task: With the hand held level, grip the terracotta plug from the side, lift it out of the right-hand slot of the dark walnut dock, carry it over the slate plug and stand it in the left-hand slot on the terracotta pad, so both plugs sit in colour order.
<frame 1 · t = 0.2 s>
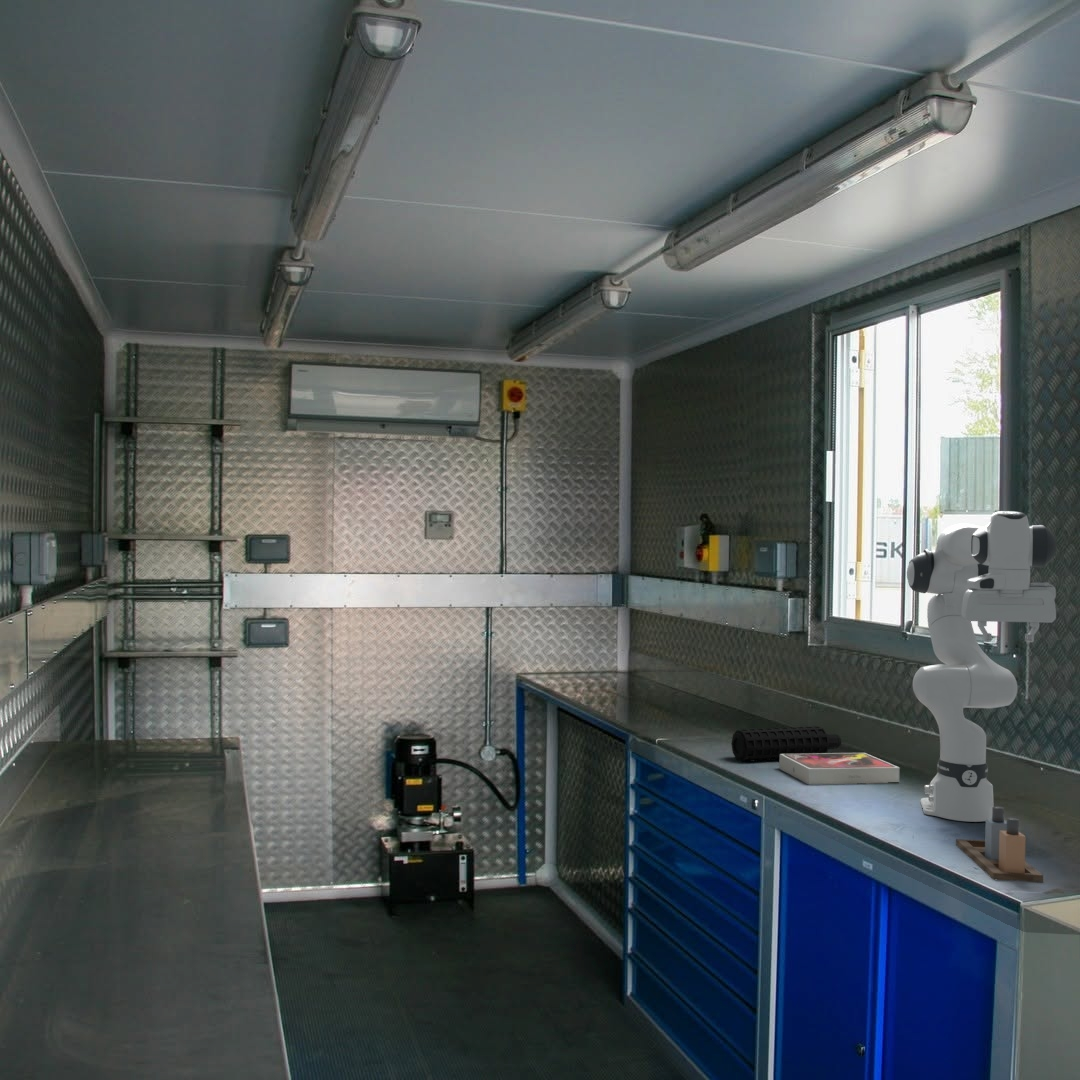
hand: (1008, 641, 252), 48 cm above the worktop, tool pointing down, fingers open, 8 cm apart
product packaging: (837, 777, 328), on the worktop
roller: (788, 759, 353), on the worktop
terracotta plug: (1011, 875, 232), resting in plug dock
slate plug: (997, 834, 241), in the plug dock
plug dock: (997, 862, 241), on the worktop
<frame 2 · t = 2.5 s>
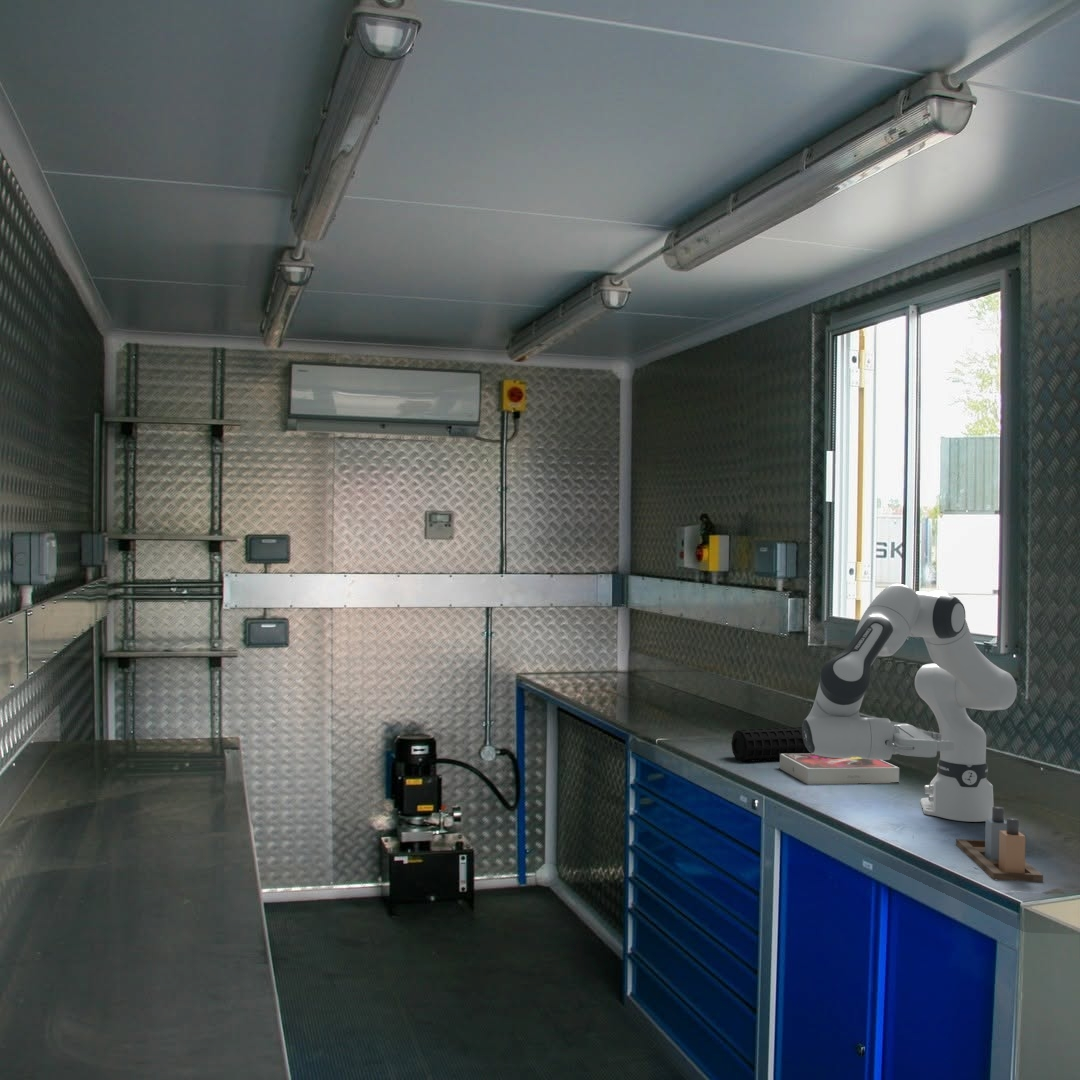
hand: (946, 741, 233), 28 cm above the worktop, tool horizontal, fingers open, 8 cm apart
nothing on the worktop moved.
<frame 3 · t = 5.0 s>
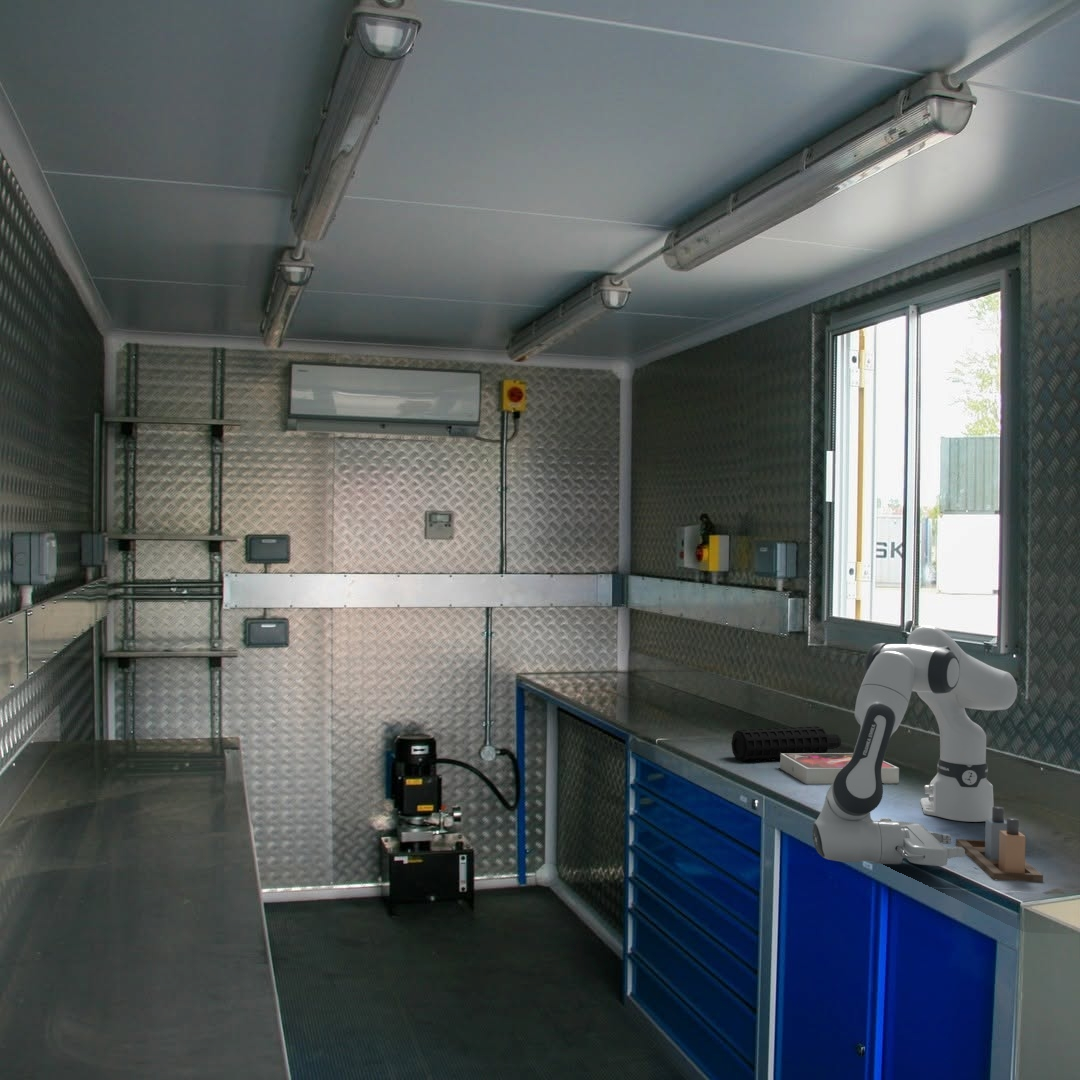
hand: (957, 845, 233), 6 cm above the worktop, tool horizontal, fingers open, 8 cm apart
nothing on the worktop moved.
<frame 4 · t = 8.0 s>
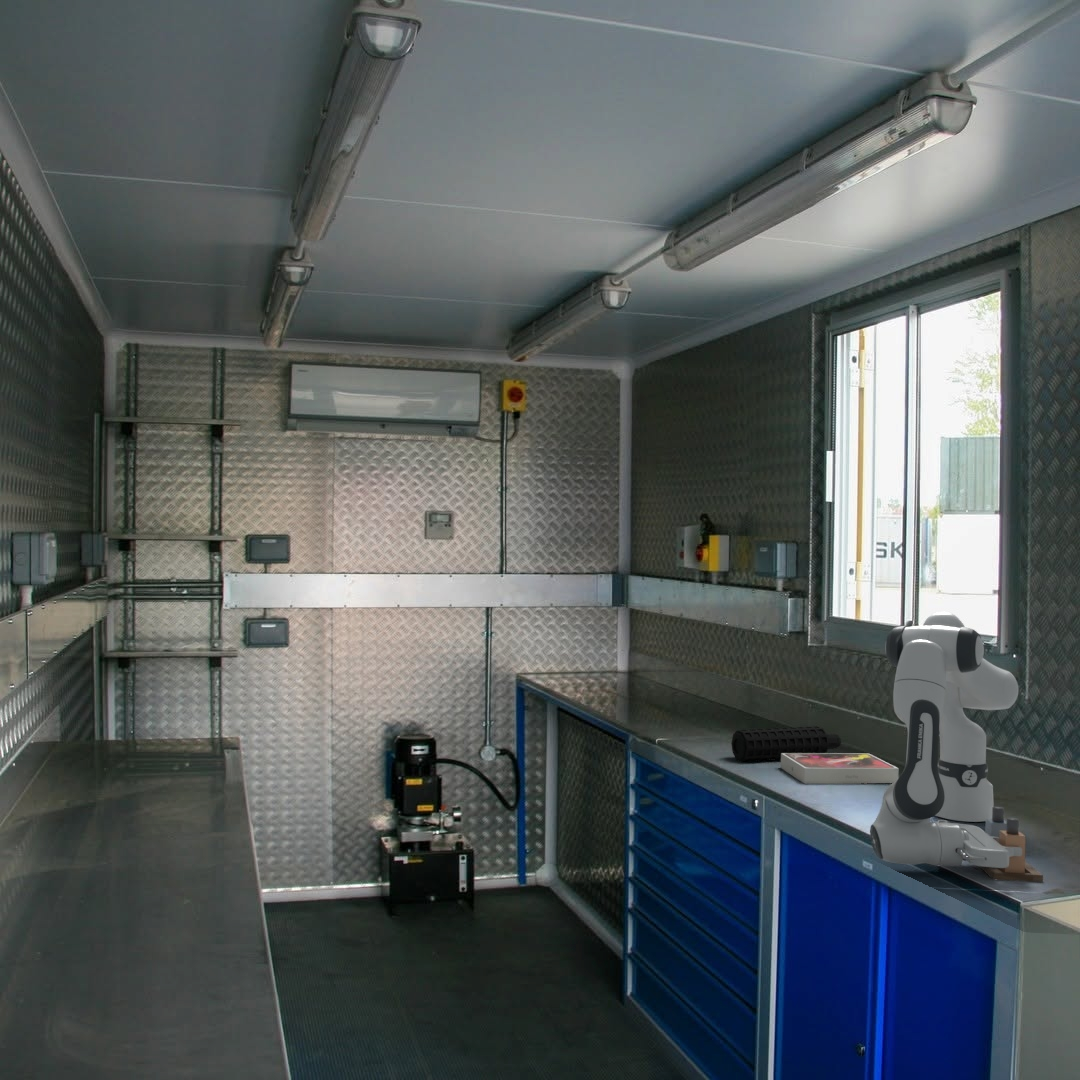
hand: (1016, 847, 232), 6 cm above the worktop, tool horizontal, fingers closed on terracotta plug, 4 cm apart
terracotta plug: (1011, 875, 232), resting in plug dock, touching gripper
everything else where it was.
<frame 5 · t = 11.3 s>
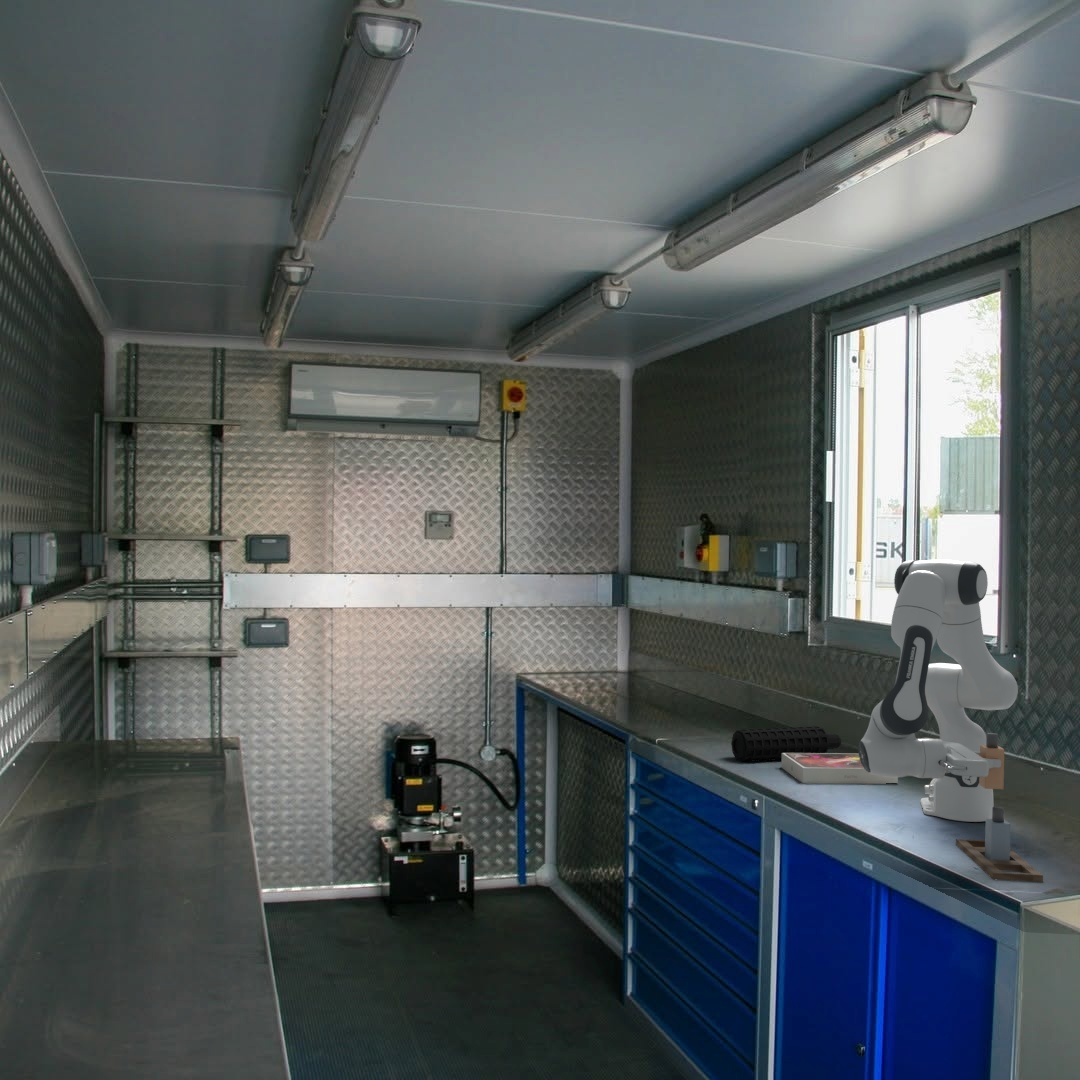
hand: (995, 760, 247), 22 cm above the worktop, tool horizontal, fingers closed on terracotta plug, 4 cm apart
terracotta plug: (991, 786, 247), point 16 cm above the worktop, touching gripper
everything else where it was.
when the fingers open (7 cm above the worktop, at t = 14.9 s): terracotta plug stays where it is, resting on plug dock.
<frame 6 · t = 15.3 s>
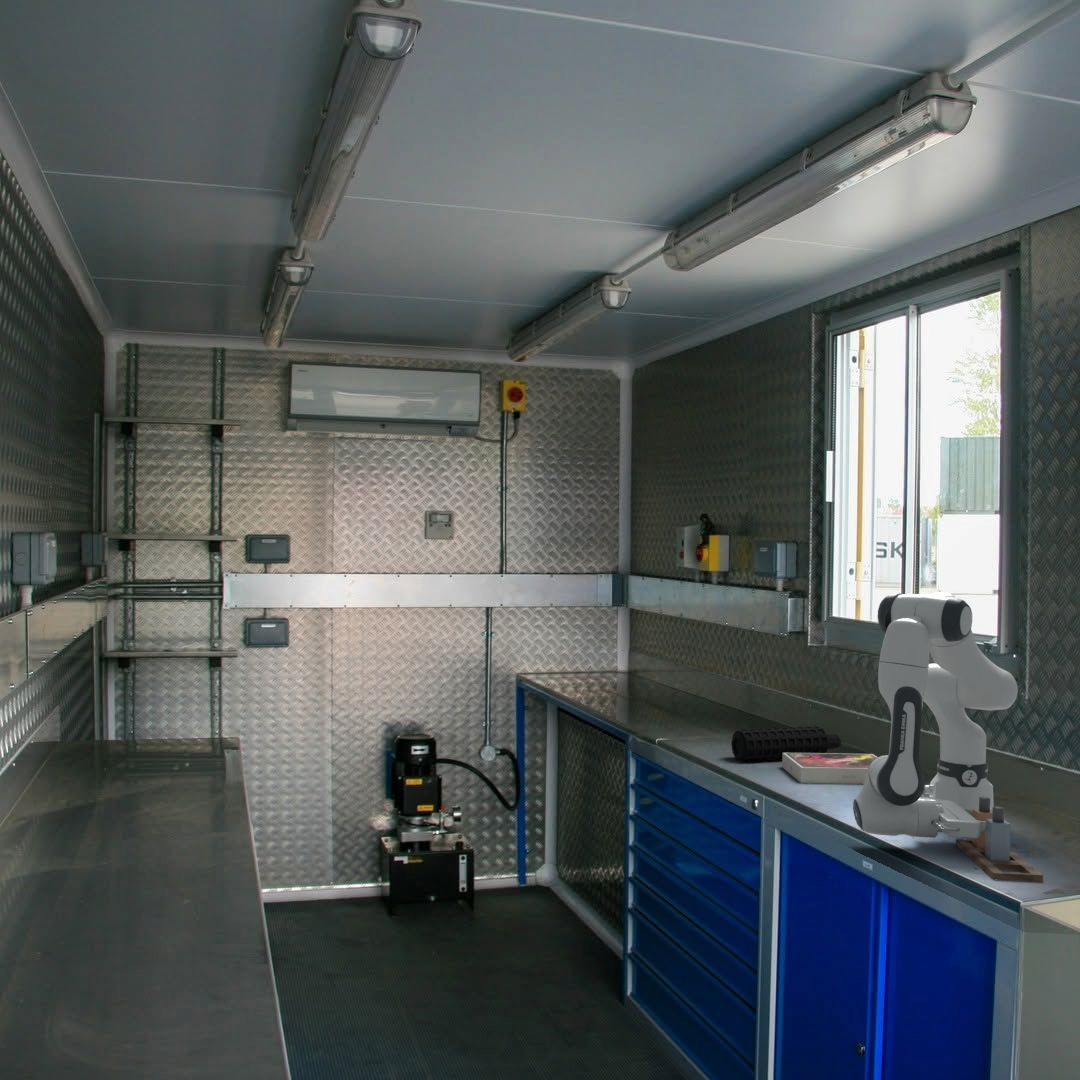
hand: (988, 820, 250), 7 cm above the worktop, tool horizontal, fingers open, 8 cm apart
terracotta plug: (983, 850, 250), resting on plug dock
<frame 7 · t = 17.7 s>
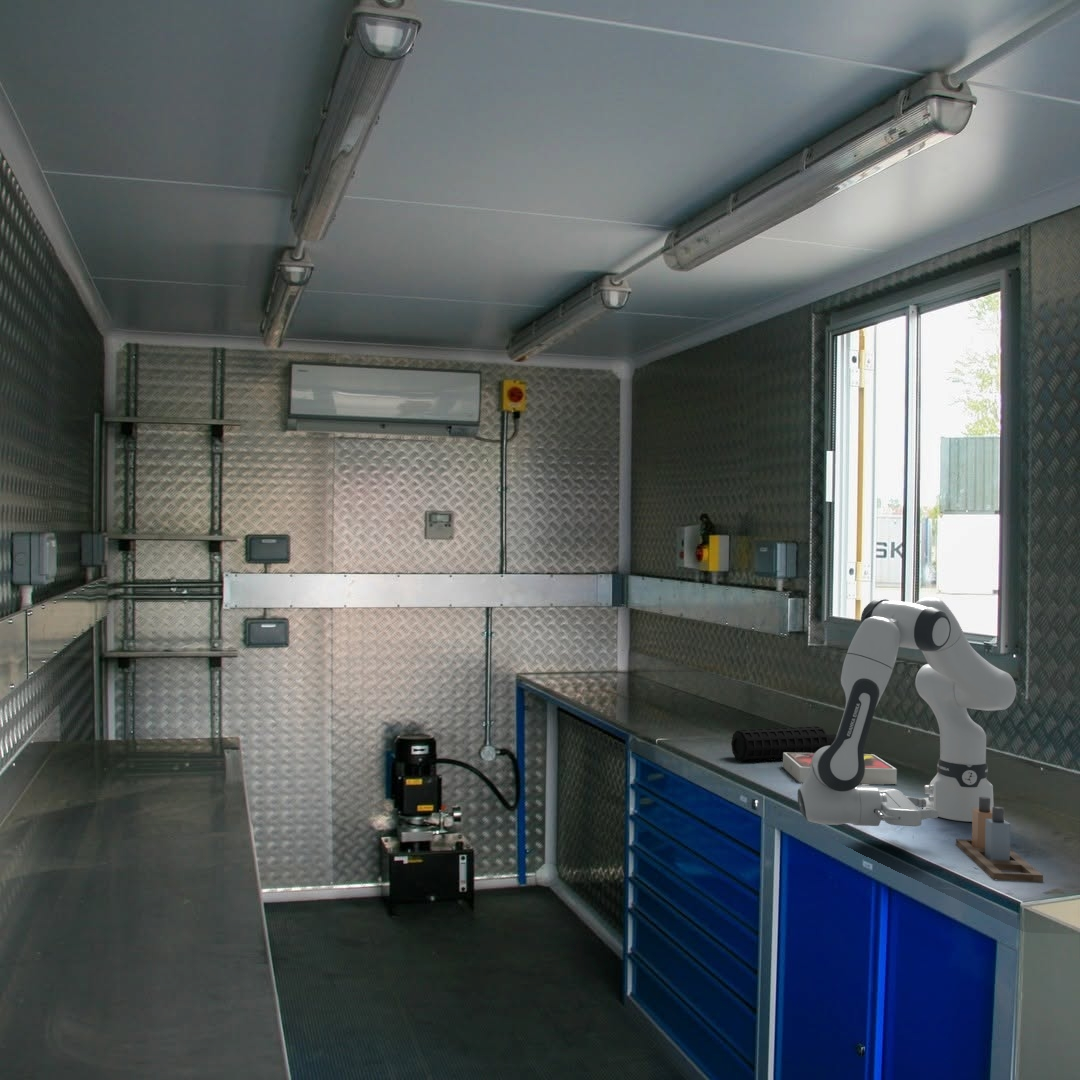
hand: (931, 808, 251), 9 cm above the worktop, tool horizontal, fingers open, 8 cm apart
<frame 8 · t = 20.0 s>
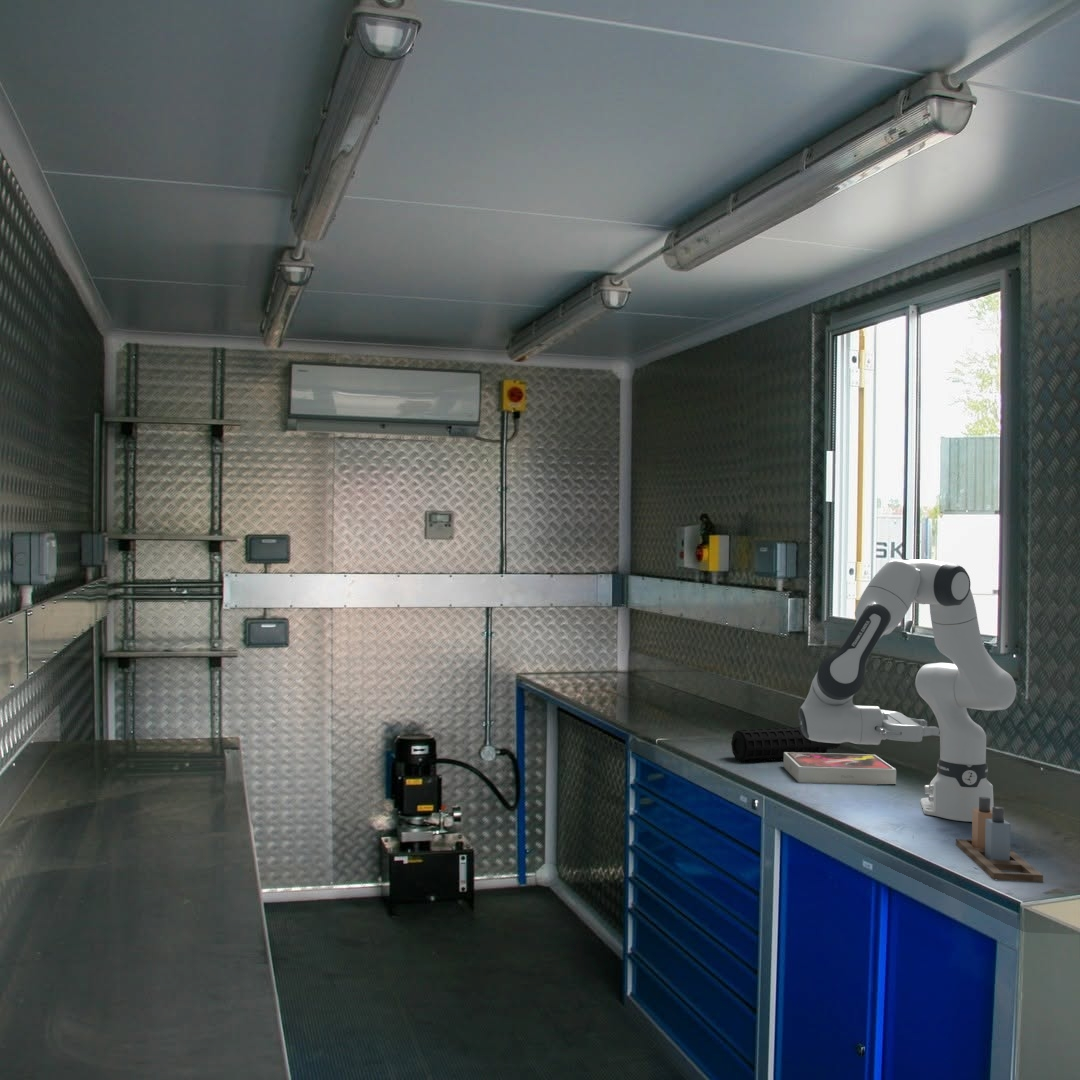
hand: (932, 727, 251), 28 cm above the worktop, tool horizontal, fingers open, 8 cm apart
at the end: terracotta plug 0.0 cm from the target spot on the plug dock, point 0.2 cm above the plug dock's base; terracotta plug tilted 0°; slate plug 0.0 cm off-centre on the plug dock, point 6.2 cm above the plug dock's base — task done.
